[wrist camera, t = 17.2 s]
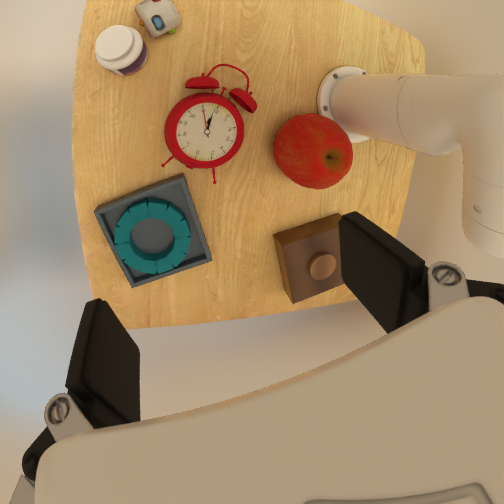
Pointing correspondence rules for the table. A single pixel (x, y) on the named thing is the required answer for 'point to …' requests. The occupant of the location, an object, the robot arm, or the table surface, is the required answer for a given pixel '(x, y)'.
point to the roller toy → (158, 16)
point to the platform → (310, 258)
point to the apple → (313, 151)
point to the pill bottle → (121, 50)
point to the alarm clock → (207, 124)
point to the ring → (148, 260)
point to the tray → (156, 228)
